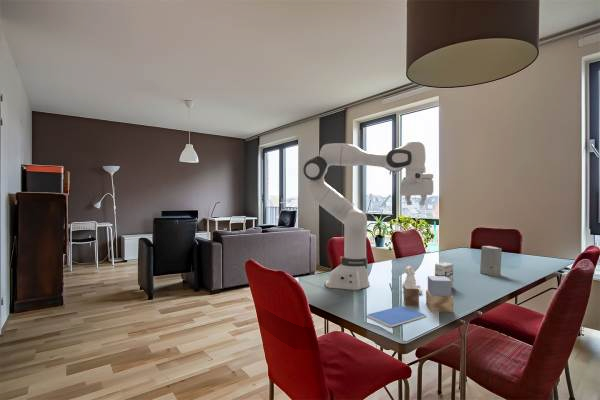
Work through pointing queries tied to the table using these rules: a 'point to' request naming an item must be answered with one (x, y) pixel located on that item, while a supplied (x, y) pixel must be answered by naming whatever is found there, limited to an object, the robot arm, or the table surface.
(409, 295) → the walnut block
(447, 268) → the ink box
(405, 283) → the seated beast figurine
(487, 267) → the skincare box
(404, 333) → the table surface
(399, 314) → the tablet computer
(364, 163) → the robot arm
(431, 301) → the oak block
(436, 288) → the slate block
